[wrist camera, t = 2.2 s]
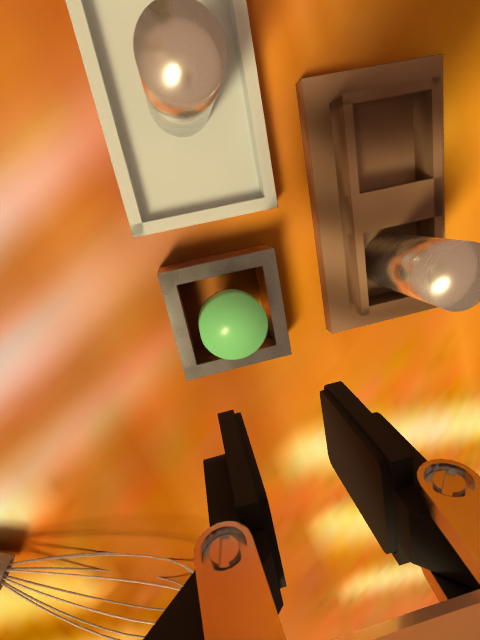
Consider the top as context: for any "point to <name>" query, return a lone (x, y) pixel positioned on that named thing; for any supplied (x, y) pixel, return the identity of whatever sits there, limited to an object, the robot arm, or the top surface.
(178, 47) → the cylinder
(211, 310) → the button
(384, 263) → the cylinder
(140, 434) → the top surface
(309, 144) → the brown compartment tray
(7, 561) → the kitchen whisk
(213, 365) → the open wooden box
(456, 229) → the top surface
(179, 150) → the tray
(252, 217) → the top surface
